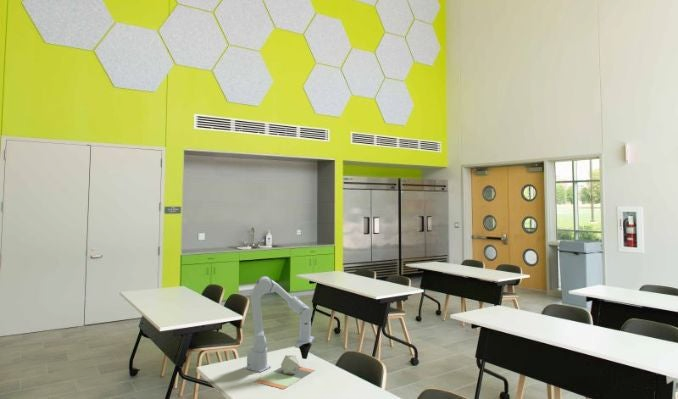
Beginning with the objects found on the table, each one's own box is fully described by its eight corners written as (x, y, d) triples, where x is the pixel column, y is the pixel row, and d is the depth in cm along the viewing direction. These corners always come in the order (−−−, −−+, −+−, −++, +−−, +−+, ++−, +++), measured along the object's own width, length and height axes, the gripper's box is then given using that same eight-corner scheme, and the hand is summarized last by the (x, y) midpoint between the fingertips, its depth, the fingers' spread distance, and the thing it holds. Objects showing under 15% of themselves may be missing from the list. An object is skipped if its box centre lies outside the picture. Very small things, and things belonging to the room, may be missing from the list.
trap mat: (254, 381, 185) (254, 381, 185) (287, 364, 206) (287, 363, 206) (283, 389, 177) (283, 388, 177) (314, 370, 199) (314, 370, 199)
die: (291, 379, 189) (303, 360, 192) (275, 368, 190) (287, 350, 194) (292, 379, 196) (304, 360, 199) (277, 368, 198) (289, 350, 201)
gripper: (303, 335, 198) (303, 364, 197) (319, 328, 210) (318, 355, 210) (291, 333, 201) (291, 361, 201) (307, 326, 214) (307, 353, 213)
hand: (304, 358), depth 206 cm, fingers closed
